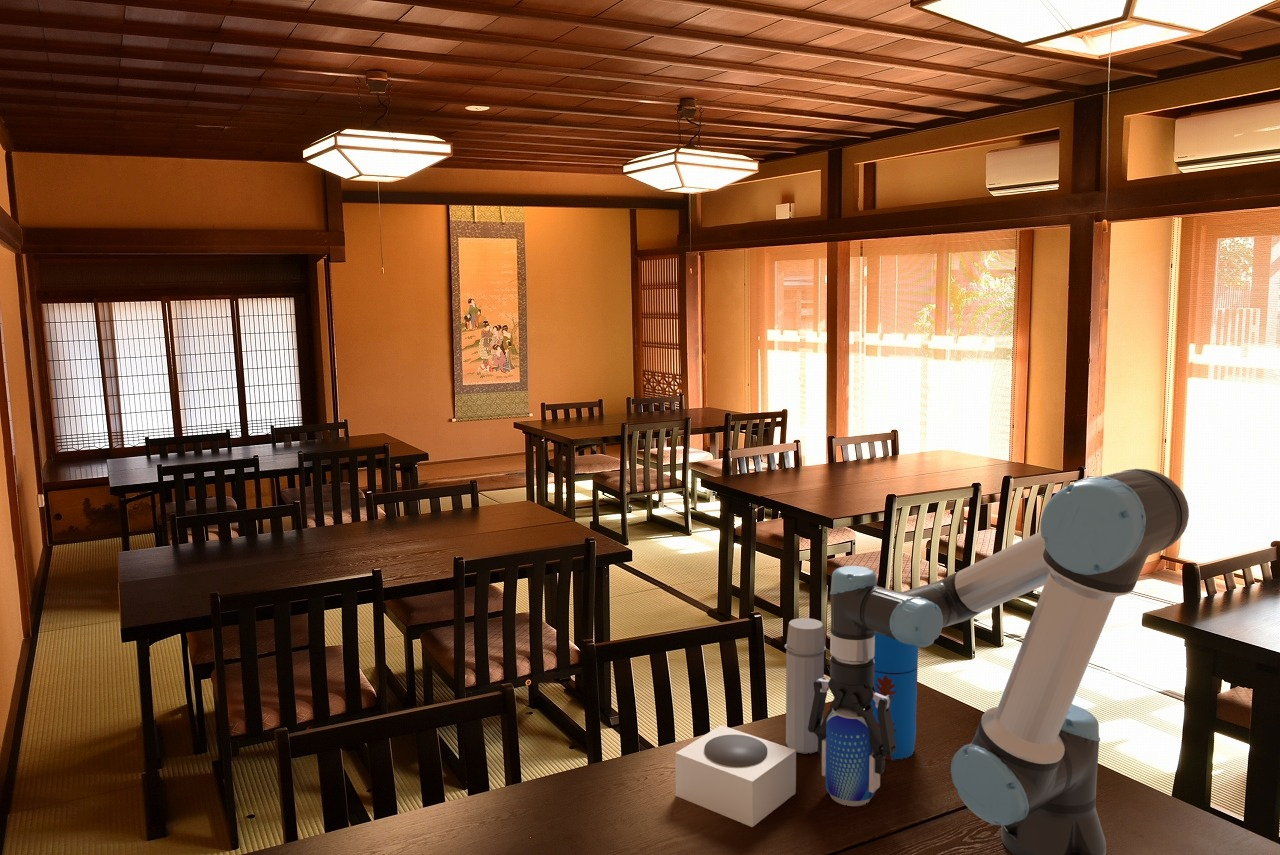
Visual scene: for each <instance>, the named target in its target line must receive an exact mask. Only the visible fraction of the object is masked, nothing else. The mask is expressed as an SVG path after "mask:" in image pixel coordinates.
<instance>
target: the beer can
mask: <svg viewBox="0 0 1280 855" xmlns="http://www.w3.org/2000/svg"><path fill="white" fill-rule="evenodd" d="M863 710H865V708H864V709H863ZM869 738H870V731H869V728H868V726H867V724H866V722H865V720H864V718H863V717H858V715H857V712H855V711H852V710H850V709H844V708H841V707H840V708H839V709H837V710H836V711H834V709H833V708H832V712H831V713H830V714H829V716H828V717H827V731H826V776H825V789H826V791H827V793H828V794H829V795H830V797H831V799H832V800H833V801H834V802H836V803H838V804H840V805H844V806H846V805H847V807H860V806H865V805H866V803H867V804H868V803H869V802H870V801H871V799H872V798H873V797H874V795H875V794H876V791H875V792H873V793H872V792H869V756H870V755H871V754H872V753H873V750H872V747H871V745H870V742H869Z"/></svg>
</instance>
